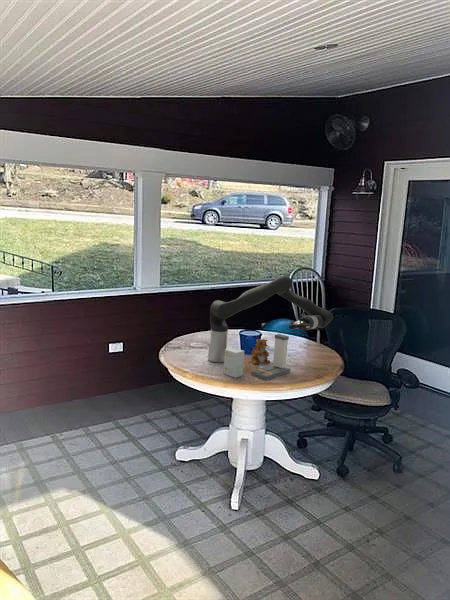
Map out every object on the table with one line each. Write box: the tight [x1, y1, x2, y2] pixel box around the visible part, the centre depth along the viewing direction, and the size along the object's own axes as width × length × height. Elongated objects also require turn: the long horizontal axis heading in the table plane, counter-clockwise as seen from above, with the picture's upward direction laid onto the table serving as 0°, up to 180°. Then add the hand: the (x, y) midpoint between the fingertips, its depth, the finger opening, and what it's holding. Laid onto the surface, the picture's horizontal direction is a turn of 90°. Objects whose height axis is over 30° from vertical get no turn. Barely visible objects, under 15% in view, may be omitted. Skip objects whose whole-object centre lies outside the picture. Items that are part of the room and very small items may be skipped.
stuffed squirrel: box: [251, 338, 271, 365], centre depth 277 cm, size 10×14×13 cm
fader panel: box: [250, 364, 291, 381], centre depth 257 cm, size 20×10×2 cm, turn 137°
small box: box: [223, 347, 245, 378], centre depth 251 cm, size 8×6×13 cm
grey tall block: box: [272, 333, 290, 368], centre depth 261 cm, size 4×6×17 cm, turn 47°
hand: (290, 327), depth 264 cm, fingers closed
